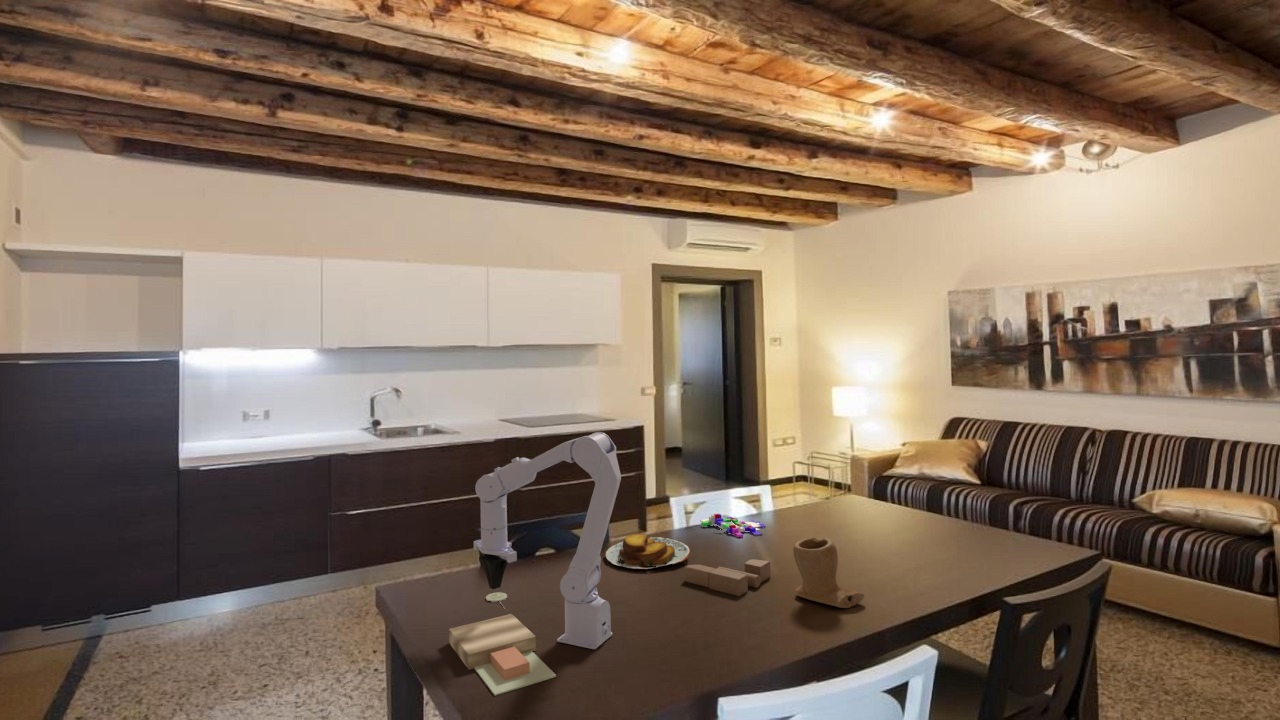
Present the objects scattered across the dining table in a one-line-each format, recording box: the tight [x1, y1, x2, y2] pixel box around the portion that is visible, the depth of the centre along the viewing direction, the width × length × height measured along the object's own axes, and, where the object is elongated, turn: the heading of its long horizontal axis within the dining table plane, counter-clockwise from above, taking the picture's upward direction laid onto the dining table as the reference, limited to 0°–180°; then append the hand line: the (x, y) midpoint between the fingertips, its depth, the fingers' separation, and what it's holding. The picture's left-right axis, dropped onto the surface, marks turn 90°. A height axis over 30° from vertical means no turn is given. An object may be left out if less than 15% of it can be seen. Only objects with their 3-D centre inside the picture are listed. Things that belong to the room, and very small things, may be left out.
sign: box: [485, 591, 510, 615], centre depth 154 cm, size 5×1×15 cm
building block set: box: [699, 513, 767, 538], centre depth 221 cm, size 25×20×4 cm
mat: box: [473, 651, 557, 697], centre depth 121 cm, size 12×12×1 cm
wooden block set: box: [683, 558, 771, 597], centre depth 169 cm, size 17×6×18 cm
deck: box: [448, 613, 537, 671], centre depth 132 cm, size 14×14×3 cm
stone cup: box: [793, 537, 865, 609], centre depth 153 cm, size 15×12×15 cm
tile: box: [490, 647, 530, 680], centre depth 122 cm, size 8×5×2 cm, turn 32°
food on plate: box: [605, 533, 691, 570], centre depth 188 cm, size 25×25×7 cm
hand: (495, 587), depth 140 cm, fingers closed
